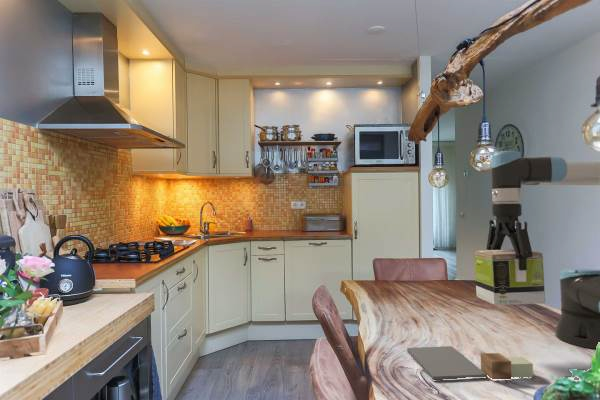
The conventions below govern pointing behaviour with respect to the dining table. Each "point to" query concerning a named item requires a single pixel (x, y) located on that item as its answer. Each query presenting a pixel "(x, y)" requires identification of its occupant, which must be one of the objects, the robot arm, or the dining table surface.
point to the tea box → (508, 278)
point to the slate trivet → (444, 363)
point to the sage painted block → (520, 367)
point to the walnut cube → (496, 366)
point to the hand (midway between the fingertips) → (508, 277)
